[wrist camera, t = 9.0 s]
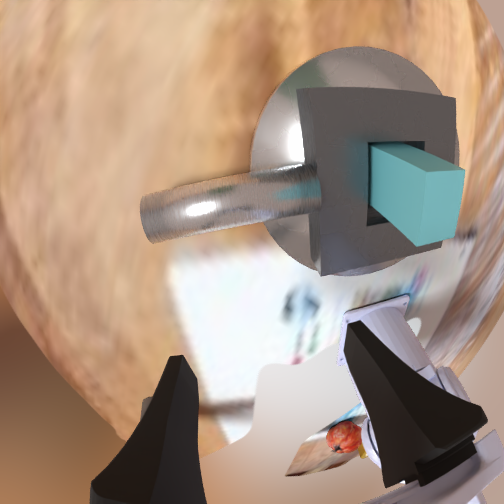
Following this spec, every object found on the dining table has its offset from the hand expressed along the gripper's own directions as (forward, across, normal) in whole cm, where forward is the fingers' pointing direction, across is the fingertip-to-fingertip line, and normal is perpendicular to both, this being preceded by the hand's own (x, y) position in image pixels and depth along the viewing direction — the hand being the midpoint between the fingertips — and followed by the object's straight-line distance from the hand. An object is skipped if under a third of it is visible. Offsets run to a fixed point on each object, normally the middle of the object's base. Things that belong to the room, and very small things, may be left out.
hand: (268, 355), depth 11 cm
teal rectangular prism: (+9, -10, -4) cm, 14 cm away
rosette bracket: (+10, -7, -4) cm, 13 cm away
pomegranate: (+11, -12, +46) cm, 49 cm away
